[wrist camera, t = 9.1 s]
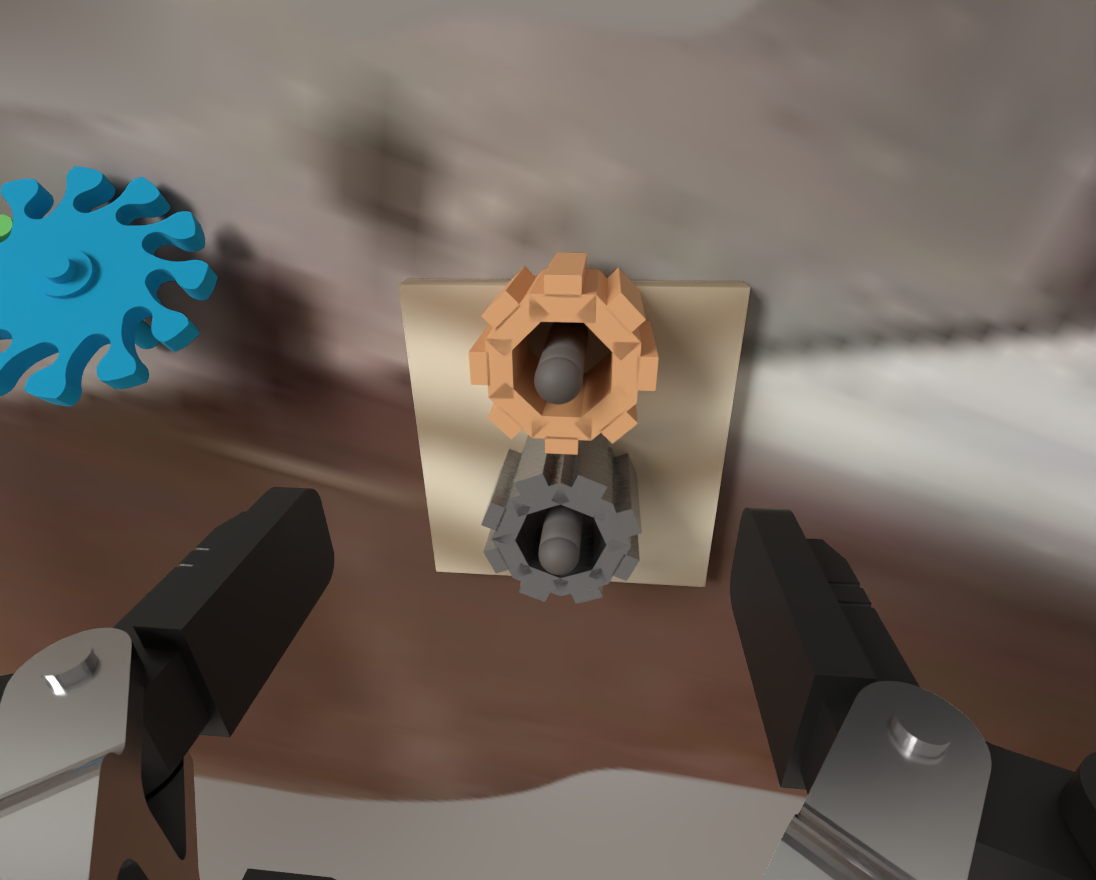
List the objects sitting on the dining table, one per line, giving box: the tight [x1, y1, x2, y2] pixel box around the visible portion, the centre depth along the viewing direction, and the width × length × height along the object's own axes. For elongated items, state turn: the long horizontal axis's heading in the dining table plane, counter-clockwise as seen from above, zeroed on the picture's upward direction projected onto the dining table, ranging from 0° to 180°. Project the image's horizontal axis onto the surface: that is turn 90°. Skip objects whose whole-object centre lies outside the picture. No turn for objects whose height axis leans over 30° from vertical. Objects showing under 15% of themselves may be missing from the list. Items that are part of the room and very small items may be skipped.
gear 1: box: [469, 253, 659, 455], centre depth 21 cm, size 6×6×4 cm
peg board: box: [398, 279, 750, 587], centre depth 23 cm, size 15×14×7 cm
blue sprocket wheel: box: [0, 166, 218, 406], centre depth 23 cm, size 11×6×10 cm
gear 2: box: [481, 433, 642, 604], centre depth 24 cm, size 6×6×4 cm
